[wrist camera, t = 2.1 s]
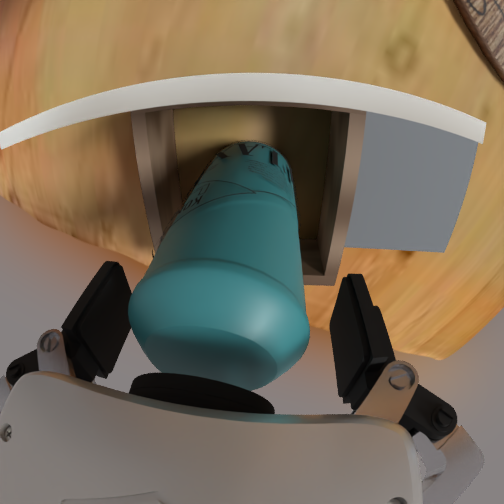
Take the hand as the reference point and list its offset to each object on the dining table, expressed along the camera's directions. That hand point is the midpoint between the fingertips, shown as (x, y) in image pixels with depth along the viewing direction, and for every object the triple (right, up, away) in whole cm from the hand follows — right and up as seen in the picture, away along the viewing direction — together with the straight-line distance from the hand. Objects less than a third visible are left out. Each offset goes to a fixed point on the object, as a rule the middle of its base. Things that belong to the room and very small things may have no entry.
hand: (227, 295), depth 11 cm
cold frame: (+1, +8, +10) cm, 13 cm away
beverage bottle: (+1, +8, +10) cm, 13 cm away
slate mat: (+15, +7, +9) cm, 19 cm away
